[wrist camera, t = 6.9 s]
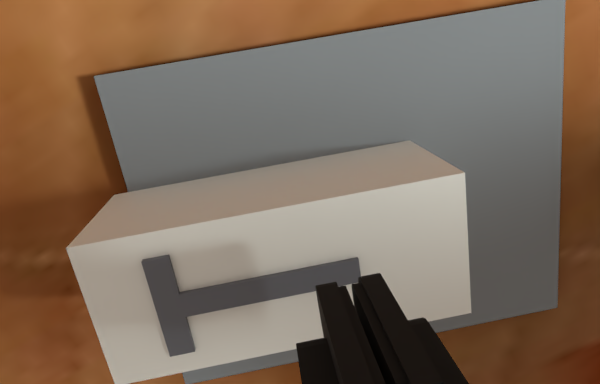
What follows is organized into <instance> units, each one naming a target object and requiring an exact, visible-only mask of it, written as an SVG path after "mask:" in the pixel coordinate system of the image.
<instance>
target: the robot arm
mask: <svg viewBox="0 0 600 384" xmlns="http://www.w3.org/2000/svg"><path fill="white" fill-rule="evenodd" d="M315 288H316V295H317V301H318V307H319V313H320V318H321V324H322V330H323V336H324V338H320V339H315V340H310V341H305V342H300V343H296V348H297V355H298V361H299V367H300V374H301V380H302V384H469V383H468V382H467V380H466V379H465V377H464V376H463V374H462V373H461V371H460V370H459V368H458V367H457V365H456V363H455V362H454V360H453V359H452V357H451V356H450V354H449V353H448V351H447V350H446V348H445V347H444V345H443V344H442V342H441V341H440V339H439V337H438V336H437V334H436V333H435V331H434V330H433V328H432V327H431V325H430V324H429V322H428V321H427V320H426V318H423V317H422V318H417V319H412V320H407V318H406V316H405V315H404V313H403V311H402V309H401V308H400V306H399V304H398V303H397V301H396V299H395V297H394V296H393V294H392V292H391V291H390V289H389V287H388V285H387V284H386V282H385V280H384V279H383V277H382V275H381V274H380V273H376V274H371V275H366V276H361V277H359V278H358V283H355V284H352V294H353V301H354V305H353V302H352V300H351V297H350V295H349V292H348V290H347V287H346V286H340V287H338V285H337V282H331V283H326V284H321V285H316V286H315Z"/></svg>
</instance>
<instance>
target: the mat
mask: <svg viewBox="0 0 600 384" xmlns="http://www.w3.org/2000/svg"><path fill="white" fill-rule="evenodd" d="M564 32H565V0H538V1H533V2H527V3H521V4H515V5H509V6H503V7H497V8H491V9H485V10H480V11H474V12H468V13H462V14H456V15H450V16H444V17H438V18H432V19H427V20H421V21H415V22H409V23H403V24H397V25H391V26H385V27H379V28H374V29H368V30H362V31H356V32H350V33H344V34H338V35H332V36H326V37H321V38H315V39H309V40H303V41H297V42H291V43H285V44H279V45H274V46H268V47H262V48H256V49H250V50H244V51H238V52H232V53H226V54H221V55H215V56H209V57H203V58H197V59H191V60H185V61H179V62H173V63H168V64H162V65H156V66H150V67H144V68H138V69H132V70H126V71H120V72H115V73H109V74H103V75H97V76H94V79H95V83H96V86H97V89H98V93H99V96H100V99H101V103H102V106H103V109H104V113H105V116H106V119H107V123H108V126H109V129H110V133H111V136H112V140H113V143H114V146H115V150H116V153H117V156H118V160H119V163H120V166H121V170H122V173H123V176H124V180H125V183H126V186H127V190H128V192H132V191H137V190H143V189H148V188H153V187H159V186H164V185H170V184H175V183H181V182H186V181H192V180H197V179H202V178H208V177H213V176H219V175H224V174H230V173H235V172H240V171H246V170H251V169H257V168H262V167H268V166H273V165H278V164H284V163H289V162H295V161H300V160H306V159H311V158H316V157H322V156H327V155H333V154H338V153H344V152H349V151H355V150H360V149H365V148H371V147H376V146H382V145H387V144H393V143H398V142H403V141H409V140H410V141H412V142H413V143H415V144H417V145H418V146H420V147H422V148H424V149H425V150H427V151H429V152H430V153H432V154H434V155H436V156H437V157H439V158H441V159H442V160H444V161H446V162H448V163H449V164H451V165H453V166H454V167H456V168H458V169H460V170H461V171H463V172H465V183H466V205H467V227H468V249H469V271H470V293H471V313H468V314H463V315H459V316H454V317H449V318H444V319H439V320H434V321H430V322H429V324H430V325H431V327H432V328H433V330H434V331H435V333H438V332H443V331H448V330H452V329H457V328H462V327H467V326H472V325H476V324H481V323H486V322H491V321H496V320H501V319H505V318H510V317H515V316H520V315H525V314H529V313H534V312H539V311H544V310H549V309H553V308H557V307H558V268H559V228H560V189H561V150H562V111H563V71H564ZM294 362H298V355H297V349H294V350H289V351H284V352H279V353H274V354H269V355H265V356H260V357H255V358H250V359H245V360H240V361H236V362H231V363H226V364H221V365H216V366H211V367H206V368H202V369H197V370H192V371H187V372H182V374H183V378H184V381H185V384H192V383H197V382H202V381H207V380H212V379H216V378H221V377H226V376H231V375H236V374H241V373H245V372H250V371H255V370H260V369H265V368H269V367H274V366H279V365H284V364H289V363H294Z"/></svg>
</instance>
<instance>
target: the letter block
mask: <svg viewBox="0 0 600 384" xmlns="http://www.w3.org/2000/svg"><path fill="white" fill-rule="evenodd" d="M66 250H67V253H68V255H69V258H70V261H71V264H72V267H73V269H74V272H75V275H76V278H77V280H78V283H79V286H80V289H81V292H82V294H83V297H84V300H85V303H86V305H87V308H88V311H89V314H90V317H91V319H92V322H93V325H94V328H95V330H96V333H97V336H98V339H99V342H100V344H101V347H102V350H103V353H104V355H105V358H106V361H107V364H108V367H109V369H110V372H111V375H112V378H113V380H114V383H115V384H129V383H134V382H139V381H143V380H148V379H153V378H158V377H163V376H168V375H172V374H177V373H182V372H187V371H192V370H197V369H202V368H206V367H211V366H216V365H221V364H226V363H231V362H236V361H240V360H245V359H250V358H255V357H260V356H265V355H269V354H274V353H279V352H284V351H289V350H294V349H297V348H296V343H300V342H305V341H310V340H315V339H320V338H324V336H323V330H322V324H321V318H320V313H319V307H318V301H317V295H316V288H315V286H316V285H321V284H326V283H331V282H337V285H338V287H340V286H346V287H347V290H348V292H349V295H350V297H351V300H352V302H353V305H354V301H353V294H352V284H355V283H358V278H359V277H361V276H366V275H371V274H376V273H380V274H381V275H382V277H383V279H384V280H385V282H386V284H387V285H388V287H389V289H390V291H391V292H392V294H393V296H394V297H395V299H396V301H397V303H398V304H399V306H400V308H401V309H402V311H403V313H404V315H405V316H406V318H407V320H412V319H417V318H422V317H423V318H426V320H427V321H428V322H430V321H434V320H439V319H444V318H449V317H454V316H459V315H463V314H468V313H471V293H470V271H469V249H468V227H467V205H466V183H465V172H463V171H461V170H460V169H458V168H456V167H454V166H453V165H451V164H449V163H448V162H446V161H444V160H442V159H441V158H439V157H437V156H436V155H434V154H432V153H430V152H429V151H427V150H425V149H424V148H422V147H420V146H418V145H417V144H415V143H413V142H412V141H410V140H409V141H403V142H398V143H393V144H387V145H382V146H376V147H371V148H365V149H360V150H355V151H349V152H344V153H338V154H333V155H327V156H322V157H316V158H311V159H306V160H300V161H295V162H289V163H284V164H278V165H273V166H268V167H262V168H257V169H251V170H246V171H240V172H235V173H230V174H224V175H219V176H213V177H208V178H202V179H197V180H192V181H186V182H181V183H175V184H170V185H164V186H159V187H153V188H148V189H143V190H137V191H132V192H126V193H121V194H115V195H114V196H113V197H112V198H111V199H110V200H109V201H108V202H107V203H106V204H105V205H104V207H103V208H102V209H101V210H100V211H99V212H98V213H97V214H96V215H95V217H94V218H93V219H92V220H91V221H90V222H89V223H88V224H87V225H86V226H85V228H84V229H83V230H82V231H81V232H80V233H79V234H78V235H77V236H76V238H75V239H74V240H73V241H72V242H71V243H70V244H69V245H68V246H67V247H66Z"/></svg>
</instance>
